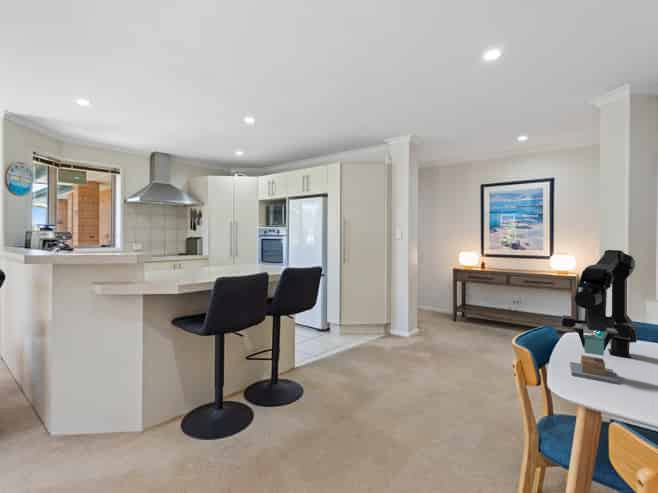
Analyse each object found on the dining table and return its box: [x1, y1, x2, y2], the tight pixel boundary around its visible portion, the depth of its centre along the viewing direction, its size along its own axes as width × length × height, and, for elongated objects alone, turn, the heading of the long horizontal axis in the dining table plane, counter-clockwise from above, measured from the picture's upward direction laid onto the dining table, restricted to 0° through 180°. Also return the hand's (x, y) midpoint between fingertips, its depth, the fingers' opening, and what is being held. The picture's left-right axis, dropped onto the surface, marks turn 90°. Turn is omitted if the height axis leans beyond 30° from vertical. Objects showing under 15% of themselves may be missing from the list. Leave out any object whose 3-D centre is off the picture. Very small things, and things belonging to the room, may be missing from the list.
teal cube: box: [583, 334, 605, 357], centre depth 117 cm, size 5×5×5 cm
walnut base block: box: [580, 354, 606, 376], centre depth 117 cm, size 6×6×4 cm
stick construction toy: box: [590, 330, 605, 339], centre depth 155 cm, size 12×7×8 cm
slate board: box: [569, 361, 618, 385], centre depth 117 cm, size 11×12×1 cm
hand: (593, 349), depth 117 cm, fingers closed on teal cube, 5 cm apart
